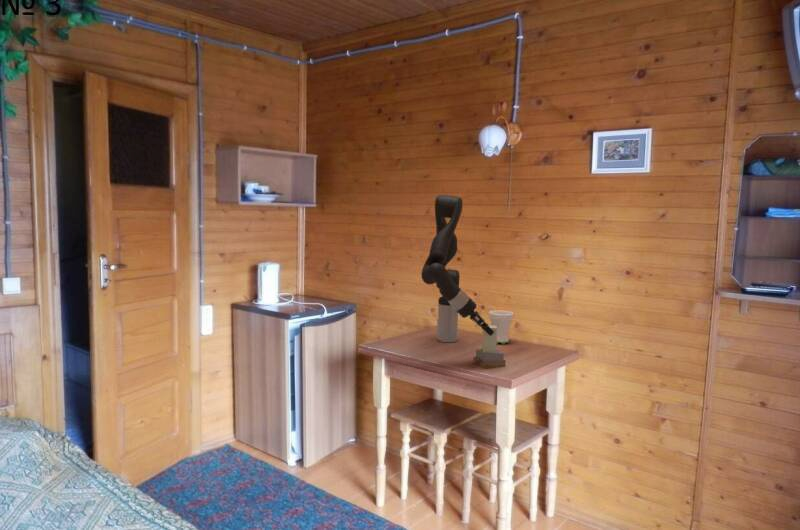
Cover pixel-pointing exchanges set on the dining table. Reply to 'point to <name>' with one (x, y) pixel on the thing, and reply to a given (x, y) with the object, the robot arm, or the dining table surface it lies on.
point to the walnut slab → (488, 363)
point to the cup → (501, 324)
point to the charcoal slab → (489, 356)
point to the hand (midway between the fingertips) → (489, 331)
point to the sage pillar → (490, 340)
